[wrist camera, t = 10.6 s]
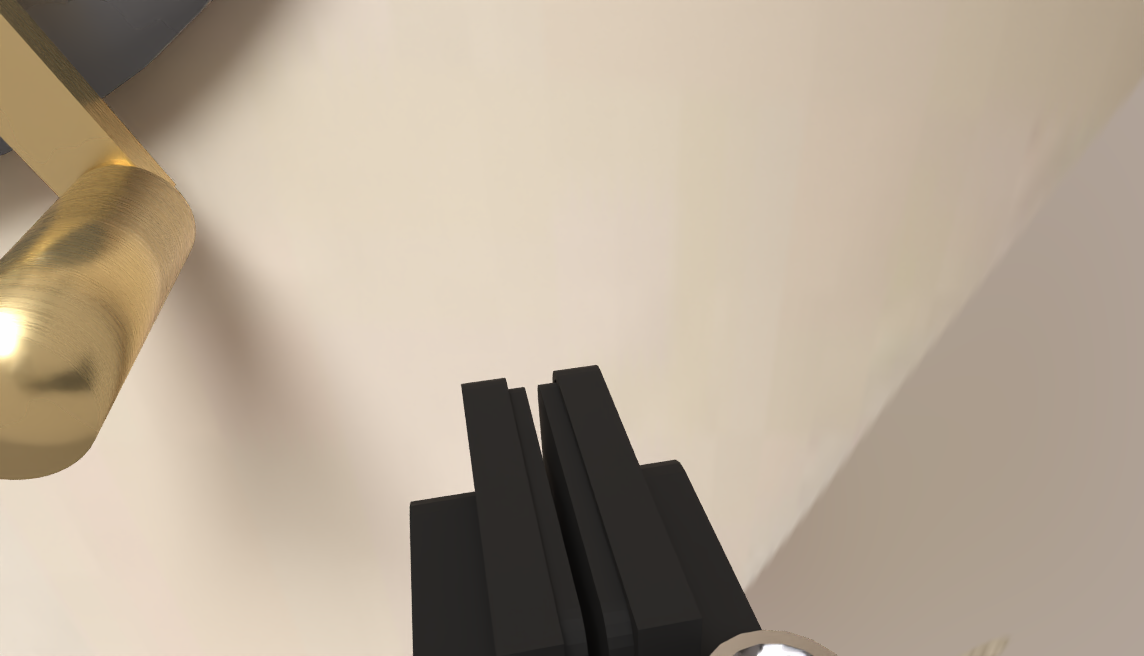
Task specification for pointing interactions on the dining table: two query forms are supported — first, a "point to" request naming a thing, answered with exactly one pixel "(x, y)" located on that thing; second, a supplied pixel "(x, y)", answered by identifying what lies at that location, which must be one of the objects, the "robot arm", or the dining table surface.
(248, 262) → the dining table surface
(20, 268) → the brass crank handle
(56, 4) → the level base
